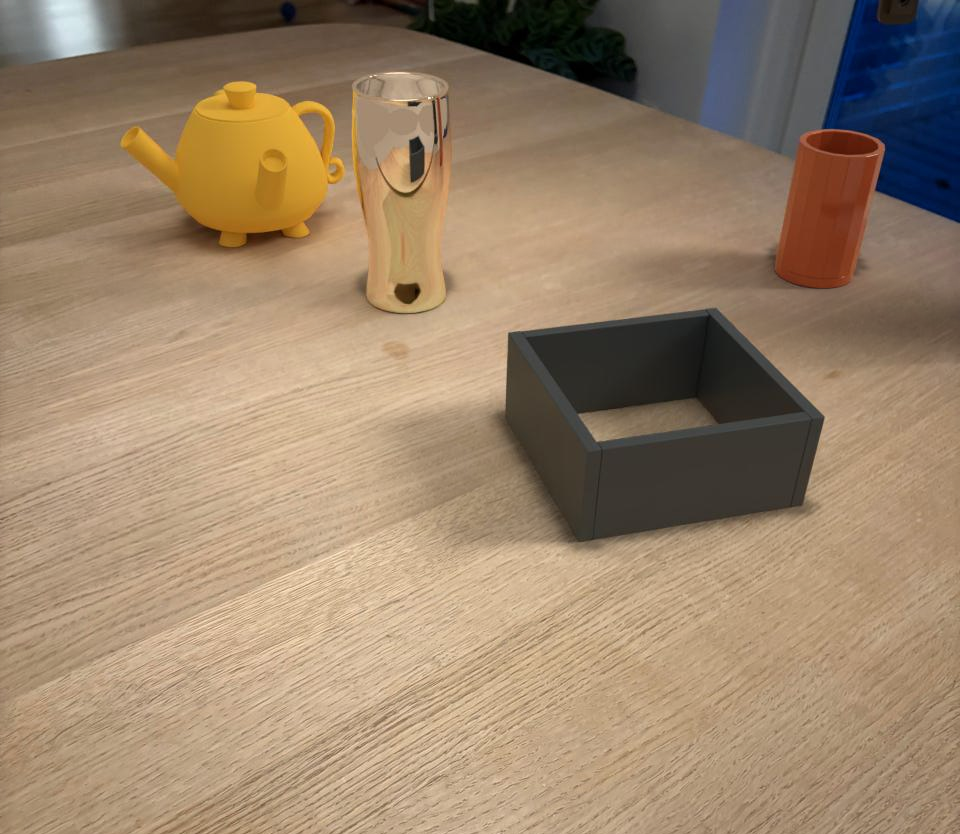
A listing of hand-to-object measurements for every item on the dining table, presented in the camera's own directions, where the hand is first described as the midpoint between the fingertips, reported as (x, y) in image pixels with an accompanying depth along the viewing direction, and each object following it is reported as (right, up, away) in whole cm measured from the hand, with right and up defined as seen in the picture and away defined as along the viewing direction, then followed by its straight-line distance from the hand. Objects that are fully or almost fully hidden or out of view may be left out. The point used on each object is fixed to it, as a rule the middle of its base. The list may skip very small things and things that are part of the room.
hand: (877, 9), depth 73 cm
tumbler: (+1, -11, +17) cm, 21 cm away
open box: (-16, -31, -5) cm, 35 cm away
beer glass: (-31, -15, +13) cm, 37 cm away
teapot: (-45, -7, +22) cm, 51 cm away
